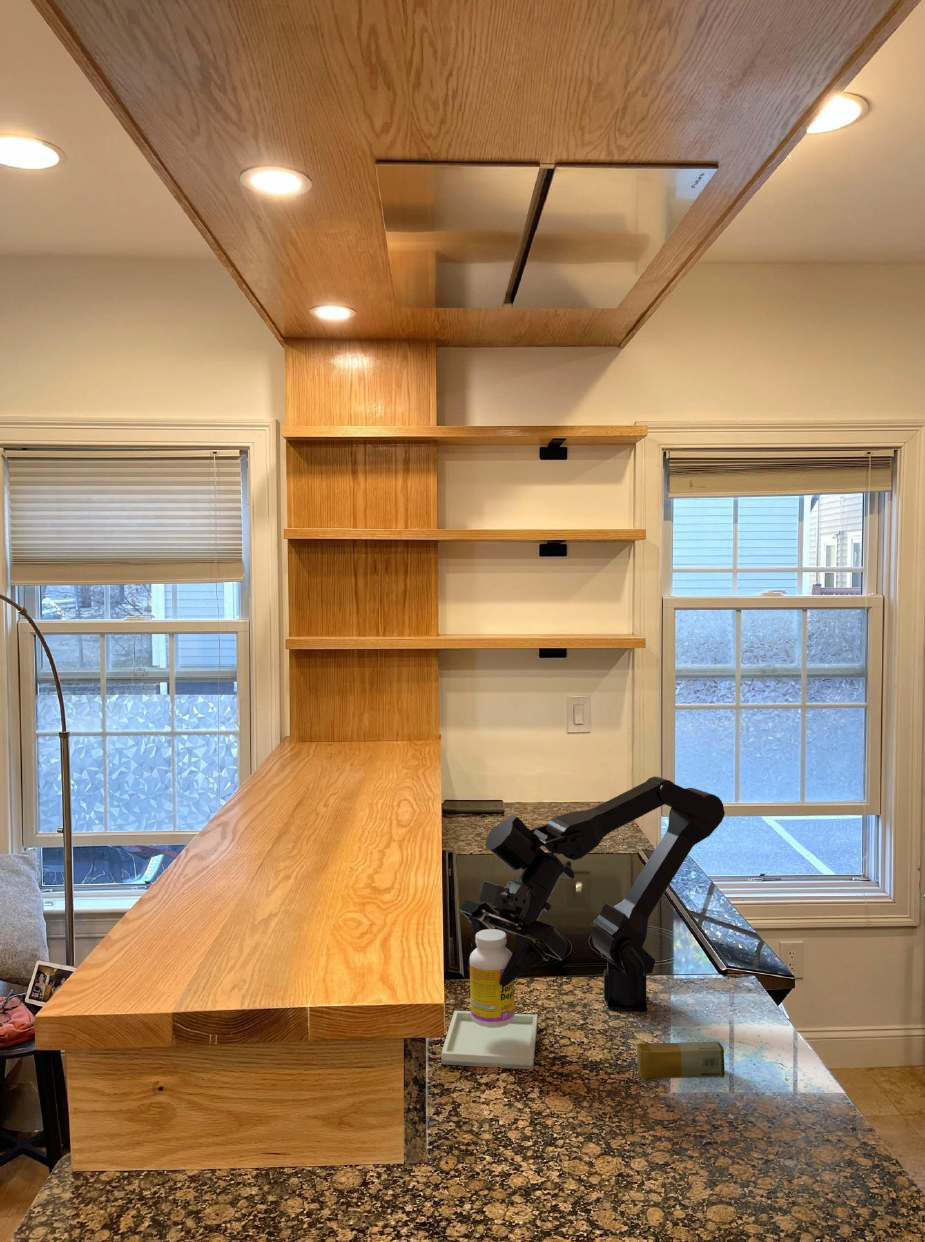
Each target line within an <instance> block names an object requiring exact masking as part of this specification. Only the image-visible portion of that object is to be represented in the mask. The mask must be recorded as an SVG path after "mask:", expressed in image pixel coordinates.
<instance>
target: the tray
mask: <svg viewBox="0 0 925 1242" xmlns="http://www.w3.org/2000/svg"><path fill="white" fill-rule="evenodd" d="M537 1032H538V1014H528V1013H527V1014H524V1013H515V1017H514V1019H513V1021H512V1022H511V1023H510V1024H508V1025H506V1026H503V1027H499V1028H487V1027H483V1026H480V1025H478V1024H476V1023H475V1022H474V1021H473V1020H472V1017H471V1010H454V1011H453V1014H452V1018H451V1020H450V1024H449V1027H448V1030H447V1034H446V1037H445V1041H444V1042H443V1043H444V1044H443V1046H442V1050H441V1055H440V1056H441V1058H440V1059H441V1062H440V1063H441V1065H447V1066H448V1065H453V1066H465V1067H466V1066H467V1067H470V1066H471V1067H480V1068H481V1067H483V1068H497V1067H500V1069H513V1070H514V1069H516V1070H529V1071H530V1070H534V1063H535V1053H536V1042H537Z"/></svg>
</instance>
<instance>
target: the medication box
mask: <svg viewBox="0 0 925 1242" xmlns="http://www.w3.org/2000/svg"><path fill="white" fill-rule="evenodd" d="M636 1057H637V1061H636V1063H637V1066H636V1070H637V1073H638V1075H639V1077H640V1078H641V1079H676V1078H677V1079H684V1078H685V1079H688V1078H689V1079H690V1078H691V1079H693V1078H696V1079H697V1078H701V1079H702V1078H705V1079H706V1078H725V1077H726V1069H725V1068H726V1067H725V1048H724V1046H723V1045H722V1043H720V1042H719V1041H715V1040H714V1041H688V1042H686V1041H685V1042H683V1041H682V1042H681V1041H680V1042H651V1043H650V1042H649V1043H647V1042H646V1043H642V1042H641V1043H636Z"/></svg>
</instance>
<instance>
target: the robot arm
mask: <svg viewBox="0 0 925 1242" xmlns="http://www.w3.org/2000/svg"><path fill="white" fill-rule="evenodd" d="M664 805H666V806H668V807H670V809H669V812H668V823H667V824H668V825H667V829H666V831H665V833H664V835H663V836H662V838H661V840H660V841H659V843H658V844H657V846H656V848H655V849H654V851H653V852H652V853H651V855H650V858H649V859H648V860H647V862H646V863H645V865H644V866H643V869H642V870H641V871H640V873H638V876H637V877H636V879H635V881H634V882H633V884H632V885H631V887H630V889H629V890H628V892H627V894H626V895H625V897H624V898H623V900H621V901H620V902H619V903H617V904H615V905H612V904H611V903H609V902H606V903H605V904H604V905H603V907H602V909H601V911H600V913H599V914H598V916H597V917H596V918H594V920H592V923H593V924H594V925H593V927H592V929H591V933H590V934H591V939H592V941H591V942H592V944H593V946H594V947H595V948H596V949H597V950H598V951H599V952H600V955H601V958H603V959H605V960H606V961H607V962H606V964H607V965H606V966H607V969H604V970H603V997H604V998H603V999H604V1002H605V1001H606V1002H607V1003H606V1004H607V1005H606V1006H607V1009H608V1010H616V1011H637V1012H639V1011H640V1012H648V1011H649V1005H648V999H647V998H648V997H647V996H648V995H647V994H648V993H647V992H648V991H647V989H648V988H647V975H648V974H652V973H653V971H654V967H655V965H656V964H655V963H656V959H655V958H654V957H652V955H650V954H649V953H648V951H646V950H645V949H644V945H645V942H646V940H647V937H648V928H649V927H648V925H649V919H650V916H651V915H652V913H653V912H654V910H655V908H656V907H657V905H658V903H659V902H660V900H661V899H662V897H663V895H664V894H665V892H666V891H667V889H668V888H669V886H670V884H671V883H672V881H673V879H674V878H675V877H676V875H677V873H678V871H679V870H680V868H681V867H682V865H683V864H684V862H685V860H686V858H687V857H688V856H689V854H690V852H691V850H692V849H693V848H694V847H695V845H697V844H699V843H700V842H701V841H704V840H705V839H707V838H709V837H710V836H711V835H712V834H713V833H714V832H715V830H716V829H717V828H718V827H719V826H720V824H721V823H722V822H723V820H724V818H725V815H726V811H725V807H724V804H723V802H722V799H721V798H720V797H719V796H717V795H715V794H713V793H709V792H707V791H704V790H700V789H697V788H694V787H686V788H684V787H682V786H679V785H678V784H675V783H674V782H673V781H671V780H669V779H667V778H663V777H660V776H651V777H650V778H648V779H646V780H645V781H644V782H643V783H640V784H639V785H637V786H635V787H632V788H631V789H628V790H627V791H625V792H623V793H621V794H619V795H617V796H615V797H613V798H610V799H608V800H607V801H605V802H602V803H601V804H599V805H597V806H594V807H592V808H589V809H586V810H577V811H571V812H568V813H564V814H561V815H556V816H554V817H553V818H551V819H550V820H549V821H548V823H547V824H543V825H540V826H538V827H534V828H531V829H530V828H529V827H528V826H526V824H525V822H524V821H523V820H522V819H520V818H519V817H518V816H516V815H515V814H511V815H510V816H509V817H508V818H507V819H506V820H505V819H504V820H502V821H501V822H499V823H498V824H497V825H496V826H493V828H492V829H491V830H490V831H489V833H488V834H487V837H486V839H485V842H484V843H485V844H484V845H485V848H486V850H488V851H489V852H491V854H493V855H494V856H495V857H496V858H498V859H499V860H500V861H501V862H503V864H505V865H506V866H507V867H508V868H510V869H511V870H512V871H519V870H520V869H521V870H522V871H521V872H520V874H519V876H518V878H517V880H512V879H511V880H508V881H507V884H506V885H505V886H503V885H500V884H496V883H494V882H491V881H487V880H483V882H482V885H481V889H480V892H479V896H478V899H477V898H474V897H469V898H466V899H464V902H463V903H462V905H461V907H460V909H459V912H460V913H461V914H462V915H463V916H464V917H465V918H467V921H468V922H469V923H470V924H471V929H472V939H471V940H472V941H471V948H470V952H469V957H468V963H467V971H469V972H470V955H471V953H472V952H473V951H474V950H475V949H476V948H477V945H476V942H475V940H476V933H477V932H479V931H482V930H486V929H497V930H501V931H504V932H505V931H506V932H509V933H511V934H512V935H515V947H514V950H513V952H512V956H511V958H510V960H509V962H508V964H507V966H506V968H505V970H504V972H503V974H502V977H501V979H500V982H499V984H500V985H501V986H503V987H505V986H507V985H508V984H509V983H511V982H512V981H513V980H514V981H515V980H516V979H517V978H519V977H520V976H521V975H523V974H524V973H526V972H527V971H528V970H530V969H531V968H533V967H535V966H536V965H538V964H540V963H541V962H543V961H545V962H548V961H549V960H550V958H551V957H552V958H554V959H556V960H558V961H561V962H562V961H564V958H565V956H566V954H567V952H568V949H569V948H568V941H567V939H566V938H565V937H564V936H563V935H562V934H561V933H560V932H559V931H558V929H556V928H555V927H554V926H553V925H550V924H547V923H545V922H542V921H539V918H540V917H541V915H542V913H543V911H545V912H549V911H550V909H551V908H552V905H551V904H550V903H549V900H550V898H551V896H552V893H553V892H554V890H555V888H556V886H557V884H558V882H559V880H560V879H570V880H573V879H575V873H574V870H573V868H572V862H571V861H569V860H573V861H577V860H580V859H582V858H584V857H585V856H587V855H588V854H589V853H591V852H592V851H593V850H595V849H596V848H597V847H598V846H599V845H600V843H601V842H602V841H603V839H604V838H605V837H606V836H607V835H609V834H610V833H612V832H614V831H615V830H618V829H619V828H622V827H624V826H626V825H627V824H629V823H631V822H633V821H635V820H637V819H639V818H641V817H643V816H645V815H646V814H649V813H651V812H652V811H655V810H656V809H658V808H660V807H662V806H664ZM541 847H542V848H543V849H546V850H547V852H545V851H544V850H543V849H542V848H541ZM557 854H558V855H562V856H563V857H564V858H567V859H569V860H562V859H560V858H559V857H558V856H557ZM487 903H488V904H487ZM489 904H490V905H489ZM497 912H498V913H497Z"/></svg>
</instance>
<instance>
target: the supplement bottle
mask: <svg viewBox="0 0 925 1242" xmlns="http://www.w3.org/2000/svg"><path fill="white" fill-rule="evenodd" d="M507 941H508V940H507V933H506V932H505V931H504V930H502V929H486V930H482V931H479V932H477V933H476V940H475V942H476V945H477V948H476V949H475V950H474V951H473V952H472V953H471V955H470V954H469V957H470V971H469V980H470V981H469V985H470V988H469V990H470V991H469V992H470V1011H471V1017H472V1020H473V1021H474V1022H475V1023H476V1024H478V1025H480V1026H483V1027H487V1028H499V1027H503V1026H506V1025H508V1024H510V1023H511V1022H512V1021H513V1019H514V1017H515V1014H516V1009H515V1008H516V1007H515V1006H516V1005H515V1004H516V1003H515V1001H516V1000H515V980H513V981H512V982H511V983H509V984H508V985H507V986H505V987H503V986H501V985H500V984H499V982H500V979H501V977H502V974H503V972H504V970H505V968H506V966H507V964H508V962H509V960H510V958H511V956H512V954H513V952H511V950H510V949H508V948H507V947H506V944H507V943H508V942H507Z"/></svg>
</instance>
